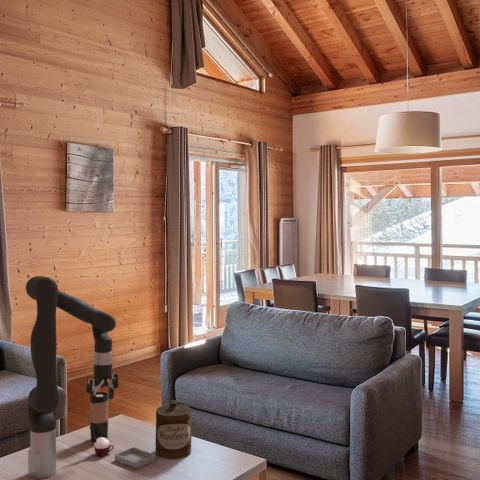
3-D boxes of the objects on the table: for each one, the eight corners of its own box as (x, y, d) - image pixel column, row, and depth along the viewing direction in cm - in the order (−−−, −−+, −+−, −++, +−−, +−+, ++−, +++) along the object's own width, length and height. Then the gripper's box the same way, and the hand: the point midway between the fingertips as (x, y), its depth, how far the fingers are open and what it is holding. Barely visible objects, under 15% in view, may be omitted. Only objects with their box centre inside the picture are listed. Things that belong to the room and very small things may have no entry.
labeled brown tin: (156, 461, 230) (156, 407, 229) (154, 446, 244) (154, 395, 243) (193, 458, 233) (193, 405, 232) (189, 444, 247) (189, 393, 246)
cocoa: (114, 452, 238) (115, 424, 238) (109, 458, 232) (110, 429, 232) (92, 450, 239) (93, 422, 239) (86, 456, 233) (88, 427, 233)
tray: (136, 469, 222) (136, 463, 222) (114, 460, 230) (114, 454, 230) (155, 461, 230) (155, 454, 230) (133, 452, 238) (133, 446, 238)
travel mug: (110, 436, 254) (110, 392, 254) (104, 443, 247) (104, 397, 246) (93, 435, 255) (93, 391, 254) (87, 442, 248) (87, 397, 247)
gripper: (93, 366, 227) (93, 407, 228) (122, 360, 238) (121, 399, 239) (82, 363, 232) (82, 403, 233) (111, 357, 243) (110, 395, 244)
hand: (102, 401), depth 236 cm, fingers open, 8 cm apart
